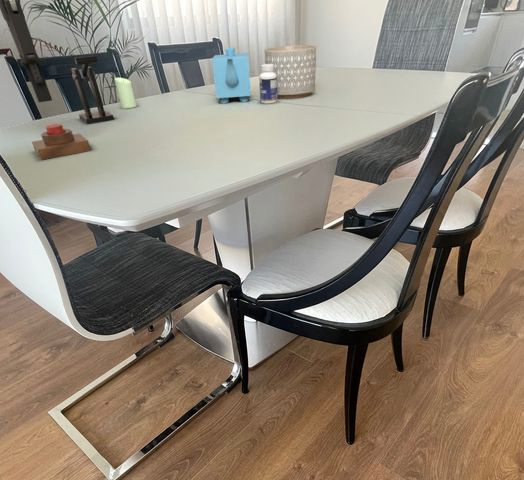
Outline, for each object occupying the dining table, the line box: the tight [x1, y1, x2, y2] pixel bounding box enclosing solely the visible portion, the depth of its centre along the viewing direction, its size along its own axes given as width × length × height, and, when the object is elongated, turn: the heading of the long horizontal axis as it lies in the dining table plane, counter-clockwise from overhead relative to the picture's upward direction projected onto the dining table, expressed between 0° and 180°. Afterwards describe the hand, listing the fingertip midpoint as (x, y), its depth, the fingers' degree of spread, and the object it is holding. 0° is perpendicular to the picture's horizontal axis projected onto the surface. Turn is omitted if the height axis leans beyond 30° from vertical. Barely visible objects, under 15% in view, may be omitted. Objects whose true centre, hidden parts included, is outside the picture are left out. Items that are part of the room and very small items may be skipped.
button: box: [45, 123, 65, 135], centre depth 88 cm, size 4×4×2 cm
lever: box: [74, 55, 99, 83], centre depth 106 cm, size 12×6×2 cm, turn 32°
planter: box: [264, 44, 317, 100], centre depth 126 cm, size 16×16×13 cm
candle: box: [114, 77, 137, 109], centre depth 128 cm, size 5×5×8 cm
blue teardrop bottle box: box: [211, 47, 252, 104], centre depth 124 cm, size 22×11×14 cm, turn 2°
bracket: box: [70, 66, 115, 125], centre depth 113 cm, size 10×8×13 cm
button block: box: [31, 128, 92, 161], centre depth 90 cm, size 11×9×4 cm
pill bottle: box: [258, 63, 278, 105], centre depth 120 cm, size 5×5×10 cm
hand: (45, 100), depth 84 cm, fingers closed
